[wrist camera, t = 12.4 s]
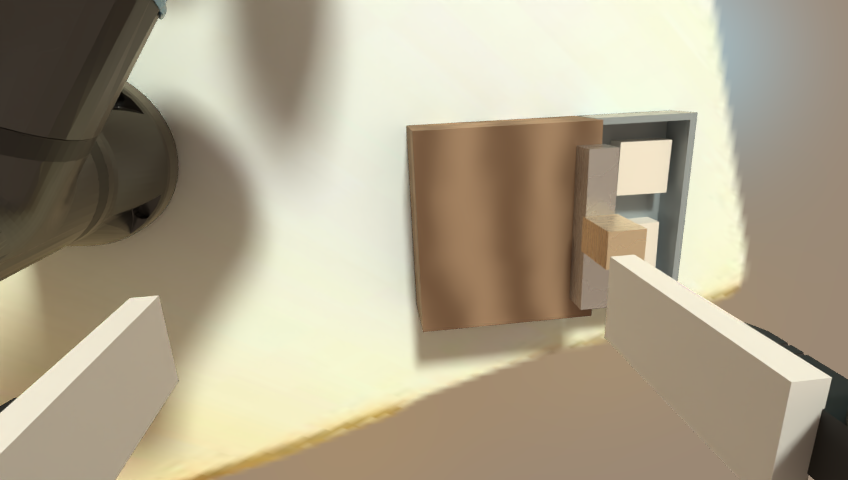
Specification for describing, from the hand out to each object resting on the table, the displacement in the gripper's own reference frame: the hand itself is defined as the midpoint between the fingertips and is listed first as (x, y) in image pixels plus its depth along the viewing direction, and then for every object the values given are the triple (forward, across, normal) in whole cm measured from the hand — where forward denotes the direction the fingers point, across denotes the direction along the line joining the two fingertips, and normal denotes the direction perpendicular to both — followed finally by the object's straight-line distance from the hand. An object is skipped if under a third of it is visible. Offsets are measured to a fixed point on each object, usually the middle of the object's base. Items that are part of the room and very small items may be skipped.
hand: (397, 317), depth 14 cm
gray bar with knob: (+27, +18, -6) cm, 33 cm away
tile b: (+30, +25, -2) cm, 39 cm away
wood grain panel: (+33, +11, -6) cm, 35 cm away
